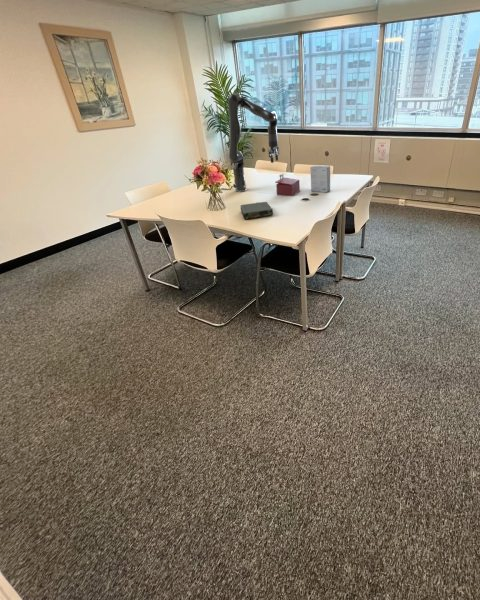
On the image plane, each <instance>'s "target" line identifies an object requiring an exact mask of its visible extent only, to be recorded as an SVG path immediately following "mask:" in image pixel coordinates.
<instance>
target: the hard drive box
mask: <svg viewBox="0 0 480 600" xmlns="http://www.w3.org/2000/svg"><path fill="white" fill-rule="evenodd" d="M310 188H311V189H310V191H311V192H318V193H328V192H330V191H331V165H312V166H311V167H310Z"/></svg>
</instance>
